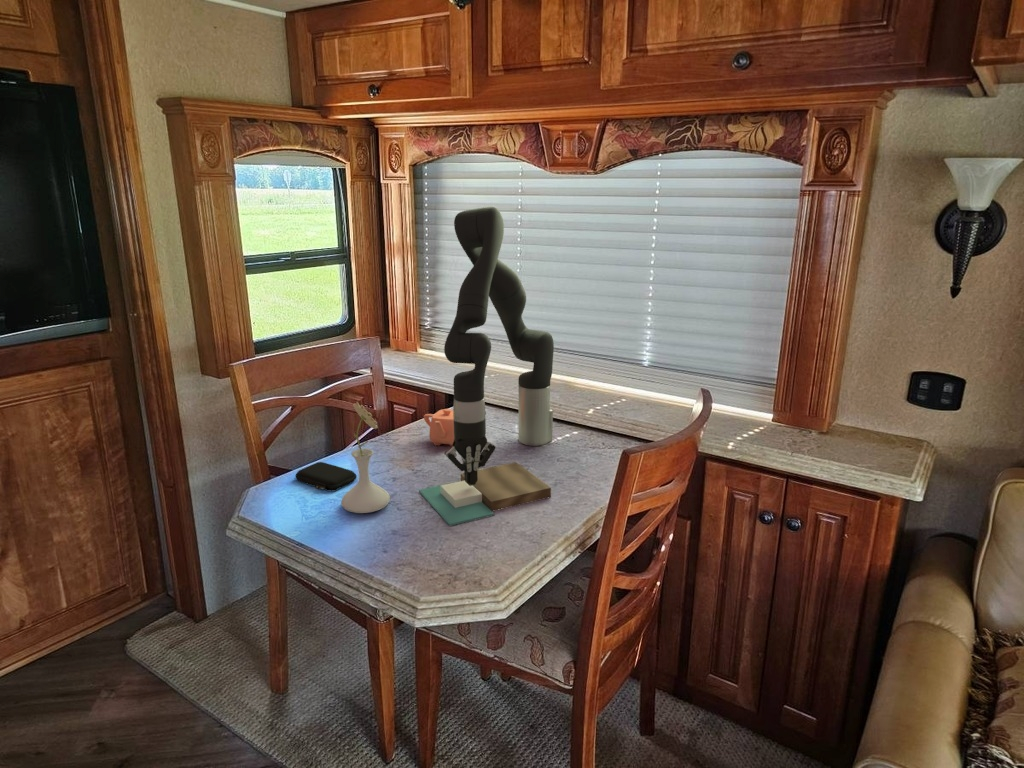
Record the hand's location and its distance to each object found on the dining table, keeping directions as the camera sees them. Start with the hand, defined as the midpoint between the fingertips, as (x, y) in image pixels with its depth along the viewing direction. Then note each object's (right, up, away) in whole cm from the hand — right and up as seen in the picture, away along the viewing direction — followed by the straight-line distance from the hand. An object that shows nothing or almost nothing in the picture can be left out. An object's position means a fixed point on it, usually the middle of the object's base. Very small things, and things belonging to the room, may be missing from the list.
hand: (471, 484), depth 165 cm
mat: (-4, -4, -2) cm, 6 cm away
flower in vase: (-25, -5, -3) cm, 25 cm away
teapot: (-9, +7, +37) cm, 38 cm away
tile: (-2, -3, 0) cm, 4 cm away
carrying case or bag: (-38, -1, +11) cm, 40 cm away
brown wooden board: (+8, -2, +5) cm, 10 cm away
